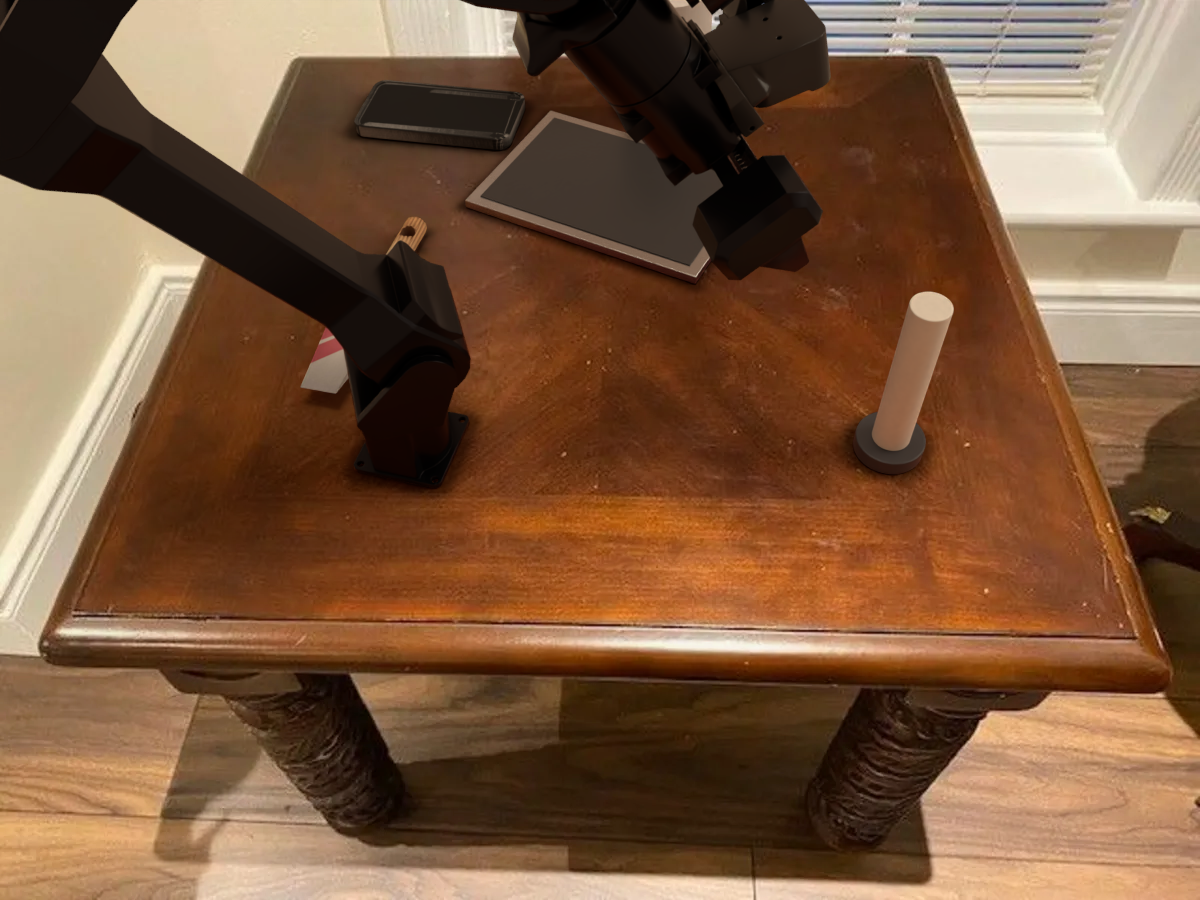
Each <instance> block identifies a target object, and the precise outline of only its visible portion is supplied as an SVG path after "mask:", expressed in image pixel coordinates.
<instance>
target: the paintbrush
mask: <svg viewBox="0 0 1200 900" xmlns="http://www.w3.org/2000/svg"><path fill="white" fill-rule="evenodd" d="M427 229H428V226H427V223H426V222H424V219H421V218H420V217H418V216H411V217H410V216H409V217H408V218H407V219H406V220H405V222H404V223H403V225H402V227H401V228H400V230H399V232H398V234H397V235H396V237H395V238H394V240H393V242H392V243H391V245H390V247H389V249H388V250H387V252H386V253H385V254H388V253H389V252H390V250H391V249H392V248H393V247H394V245H395V244H396V243H397V242H398V241H400V240H402V241H403V242H405V243H407V244H408V245H409V246H410V247H411V248H412V249H413V250H414V251H415V252H416V249H417V248H418V246H419V245H420V243H421V241H422V239H423V238H424V236H425V234H426V233H427ZM324 328H325V329H324V331H323V333H322V335H321V338H320V340H319V343H318V345H317V347H316V350H315V351H314V354H313V357H312V359H311V361H310V363H309V366H308V369H307V371H306V373H305V376H304V378H303V380H302V383H301V384H300V388H302V389H308V390H313V391H319V392H324V393H330V394H337V393H338V392H339V391H340V389H341V388H342V387H343V386H344V384H345V383H346V382H347V381H348V380H349V378H348V373H347V367H346V362H345V356H344V351H343V348H342V346H341V345H340V344H339V342H338V341H337V340H336V338H335V337H334V336H333V335H332V333H331V332H330V331H329V330H328V329H327V328H326V327H324Z"/></svg>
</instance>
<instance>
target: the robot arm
mask: <svg viewBox="0 0 1200 900" xmlns="http://www.w3.org/2000/svg"><path fill="white" fill-rule="evenodd" d="M138 1H139V0H0V176H1V177H4V178H6V179H9V180H11V181H13V182H16V183H18V184H21V185H24V186H26V187H28V188H30V189H34V190H35V191H43V192H56V193H57V192H59V193H70V194H79V195H80V194H81V195H92V196H93V195H94V196H97V197H99V198H100V197H101V198H103V199H104V200H107V201H109V202H111V203H113V204H115V205H116V206H118V207H120V208H122V209H124V210H125V211H127V212H129V213H130V214H132V215H134V216H135V217H137V218H139V219H141V220H142V221H144V222H145V223H147V224H149V225H151V226H152V227H154V228H156V229H158V230H159V231H161V232H163V233H165V234H167V236H170V237H171V238H173V239H174V240H177V241H179V242H180V243H181V244H184V245H185V246H187V247H189V248H190V249H192V250H194V251H195V252H197V253H199V254H200V255H203V256H204V257H206V258H208V259H209V260H211V261H213V262H214V263H216V264H218V265H220V266H221V267H223V268H225V269H227V270H228V271H229V272H232V273H234V274H235V275H236V276H239V277H240V278H242V279H244V280H245V281H247V282H249V283H250V284H252V285H254V286H256V287H258V288H259V289H261V290H263V291H264V292H266V293H268V294H269V295H271V296H273V297H275V298H276V299H278V300H279V301H281V302H283V303H285V304H287V305H288V306H289V307H291V308H293V309H295V310H297V311H299V312H300V313H302V314H304V315H306V316H307V317H309V318H311V319H313V320H314V321H315V322H318V323H319V324H321V325H322V326H324V328H327V329H328V330H329V331H330V332H331V333H332V335H333V336H334V337H335V338H336V340H337V341H338V342H339V344H340V345H341V346H342V348H343V351H344V356H345V362H346V367H347V373H348V383H349V389H350V392H351V393H350V394H351V401H352V405H353V410H354V411H353V412H354V417H355V421H356V426H357V428H358V429H359V430H360V431H361V433H362V437H363V439H364V443H363V444H362V447H361V448H360V450H359V453H357V456H356V458H355V460H354V462H353V468H354V471H355V472H356V473H359V474H362V475H366V476H367V475H368V476H372V477H377V478H382V479H386V480H392V481H395V482H396V481H397V482H401V483H406V484H411V485H415V486H420V487H425V488H430V489H439V488H440V487H442V485H444V482H445V480H446V478H447V475H448V473H449V470H450V469H451V467H452V464H453V461H454V459H455V457H456V455H457V453H458V450H459V448H460V446H461V444H462V441H463V439H464V437H465V435H466V433H467V431H468V428H469V426H470V418H469V416H468V415H467V414H464V413H458V412H454V411H449V409H450V404H451V402H452V399H453V396H454V392H455V389H456V388H458V387H459V386H460V385H461V384H462V383H463V381H465V379H466V377H467V376H468V374H469V372H470V369H471V360H472V359H471V354H470V351H469V347H468V344H467V340H466V338H465V334H464V330H463V326H462V323H461V320H460V316H459V312H458V310H457V309H458V308H457V306H456V302H455V298H454V295H453V292H452V289H451V287H450V283H449V280H448V277H447V274H446V271H445V267H444V265H441V264H438V263H433V262H431V261H428V260H426V259H425V258H423V257H422V256H420V255H419V254H418V253H417V252H416V250H415V251H414V250H413V249H412V248H411V247H410V246H409V245H408V244H407V243H405V242H403V241H402V240H400V241H398V242H397V243H396V244H395V245H394V247H393V248H392V249H391V250H390V252H389V253H388V254H386V253H364V252H362V251H359V250H357V249H355V248H353V247H352V246H350V245H348V244H347V243H346V242H344V241H343V240H342V239H340V238H339V237H337V236H335V235H334V234H333V233H331V232H330V231H328V230H326V229H325V228H323V227H322V226H320V225H319V224H317V223H316V222H314V221H313V220H311V219H310V218H308V217H307V216H305V215H304V214H302V213H301V212H299V211H298V210H296V209H295V208H293V207H292V206H290V205H288V204H287V203H286V202H284V201H283V200H282V199H280V198H278V197H277V196H275V194H272V193H271V192H269V191H268V190H266V189H265V188H263V187H262V186H260V185H259V184H258V183H256V182H254V181H253V180H252V179H250V178H249V177H247V176H246V175H244V174H242V173H241V172H240V171H238V170H236V169H235V168H234V167H232V166H231V165H229V164H228V163H226V162H224V161H223V160H221V159H220V158H219V157H217V156H215V155H214V154H213V153H211V152H209V151H208V150H207V149H205V148H203V147H202V146H201V145H199V144H198V143H196V142H195V141H193V140H192V139H190V138H189V137H187V136H185V135H184V134H183V133H181V132H180V131H178V130H176V129H175V128H174V127H172V126H171V125H169V124H167V123H166V122H165V121H163V120H161V119H160V118H158V117H157V116H156V115H154V114H153V113H151V112H150V111H149V110H148V109H147V108H146V107H145V106H144V105H143V104H142V103H141V102H140V100H139V99H138V98H137V97H136V95H135V94H134V92H133V91H132V90H131V88H130V87H129V86H128V85H127V83H126V82H125V81H124V80H123V79H122V77H121V76H120V74H119V73H118V72H117V70H115V68H114V67H113V66H112V64H111V63H110V61H109V60H108V58H106V57H105V55H104V52H105V50H106V48H107V47H108V45H109V43H110V41H111V40H112V38H113V36H114V34H115V33H116V31H117V29H118V28H119V26H120V25H121V23H122V21H123V19H124V18H125V17H126V16H127V15H128V13H129V12H130V11H131V10H132V8H133V7H134V6H135V4H136V3H137V2H138ZM459 1H461V2H463V3H466V4H467V5H468V4H469V5H471V6H474V7H477V8H483V9H491V10H498V11H505V12H514V13H516V21H515V24H514V28H513V33H512V41H513V44H514V46H515V48H516V51H517V53H518V55H519V57H520V60H521V62H522V64H523V67H524V69H525V71H526V73H527V75H528V76H530V77H533V78H534V77H538V76H540V75H541V74H543V72H544V71H545V70H546V69H548V68H549V67H550V66H551V65H552V64H554V63H555V62H556V61H557V60H558V59H560V57H561V56H563V55H565V56H566V57H567V58H568V59H569V61H570V62H571V63H572V64H573V65H574V66H575V67H576V69H578V70H579V72H580V73H581V74H582V75H583V77H585V78H586V80H587V81H588V82H589V83H590V84H591V85H592V86H593V88H594V89H595V90H596V91H597V92H598V93H599V94H600V96H601V97H602V98H603V99H604V100H605V101H606V102H607V104H608V105H609V106H610V107H611V108H612V109H613V110H614V111H615V113H616V115H617V117H618V119H619V121H620V123H621V125H622V127H623V129H624V132H626V133H627V134H628V135H629V136H630V137H631V138H632V139H633V140H634V141H635V143H636V144H637V143H638V142H639V141H640V140H642V141H643V142H644V143H645V145H646V146H647V147H648V148H649V149H650V150H651V151H652V152H653V154H654V155H655V157H656V159H657V161H658V163H659V164H660V166H661V168H662V170H663V172H664V174H665V176H666V177H667V178H668V179H669V180H670V181H671V183H672V184H673V185H674V186H676V185H677V184H679V183H680V182H681V181H682V180H684V179H685V178H686V177H688V176H689V175H690V174H691V173H694V174H695V175H698V174H701V173H704V172H706V171H708V170H710V169H712V170H714V171H715V173H716V175H717V176H718V178H719V180H720V181H721V183H722V185H723V187H721V188H720V189H719V190H717V191H716V192H715V193H713V194H712V195H711V196H709V197H708V198H707V199H706V200H704V201H703V202H702V203H700V204H699V205H698V206H697V209H696V213H695V216H694V220H693V224H692V225H693V227H694V229H695V231H696V233H697V235H698V236H699V238H700V240H701V242H702V244H703V246H704V248H705V249H706V251H707V253H708V255H709V257H710V259H711V262H712V264H713V265H714V266H715V267H716V268H717V269H718V270H719V271H720V273H722V274H723V275H724V277H725V278H726V279H727V280H728V281H742V280H744V279H745V278H746V277H748V276H749V275H750V274H752V273H753V272H754V271H756V270H757V269H759V268H766V269H773V270H778V271H779V270H780V271H783V272H784V271H785V272H791V273H797V272H798V271H800V270H801V269H803V268H805V267H806V266H807V265H808V264H809V263H810V258H809V255H808V252H807V250H806V246H805V243H804V240H803V236H804V235H805V234H807V233H808V232H809V231H811V230H812V229H814V228H815V227H817V226H818V225H819V224H820V221H821V218H822V216H823V214H824V210H823V208H822V207H821V205H820V204H819V203H818V201H817V199H816V198H815V197H814V195H813V194H812V192H811V191H810V189H809V187H808V186H807V184H806V183H805V182H804V180H803V179H802V177H801V176H800V174H799V173H798V171H797V170H796V169H795V167H794V166H793V164H792V163H791V162H790V160H789V159H788V158H787V156H786V155H785V154H770V155H769V154H767V155H766V154H765V155H761V157H759V158H758V157H757V156H756V154H755V152H754V151H753V149H752V148H751V146H750V144H749V143H748V142H747V140H746V139H745V138H748V137H749V136H751V135H752V134H753V133H755V132H756V131H757V130H759V129H760V128H761V127H763V126H764V125H765V122H764V120H763V118H762V117H761V115H760V114H759V113H758V111H757V110H756V109H755V108H758V109H766V108H769V107H773V106H775V105H777V104H780V103H782V102H784V101H786V100H788V99H791V98H794V97H796V96H798V95H801V94H804V93H805V92H807V91H810V92H816V91H818V90H819V89H822V88H823V87H825V86H826V85H827V84H828V83H829V82H830V80H831V66H830V56H829V45H828V36H827V28H826V25H825V23H824V22H823V21H822V20H821V18H820V17H819V16H818V15H817V14H816V12H815V11H814V10H813V9H812V7H811V6H810V5H809V4H808V2H807V1H806V0H701V1H702V2H703V3H704V5H705V6H706V8H707V9H708V11H709V12H710V13H711V15H712V16H713V15H715V14H716V13H717V12H718V11H719V10H720V11H721V12H722V13H720V14H718V21H719V23H718V24H717V25H716V27H715V28H714V29H711V31H710V32H708V33H706V34H704V33H703V32H702V30H701V29H700V28H699V26H698V25H697V23H694V22H693V20H692V19H691V20H689V21H688V22H686V20H685V19H684V18H683V16H682V17H681V16H680V15H679V13H678V12H677V10H676V9H675V8H674V6H673V5H672V4H671V2H670V1H669V0H459ZM686 1H687V3H688V4H689V5H690V7H691V8H693V7H694V6H696V5H697V4H698V3H699V2H700V1H699V0H686ZM361 465H362V466H361Z"/></svg>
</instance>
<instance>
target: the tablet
mask: <svg viewBox="0 0 1200 900" xmlns="http://www.w3.org/2000/svg"><path fill="white" fill-rule="evenodd" d="M721 187H723V185H722V183H721V181H720V180H719V178H718V176H717V175H716V173H715V171H714V170H712V169H710V170H708V171H706V172H704V173H701V174H698V175H695V174H694V173H691V174H690V175H689V176H688V177H686V178H685V179H684V180H682V181H681V182H680V183H679V184H677V185H676V186H674V185H673V184H672V183H671V181H670V180H669V179H668V178H667V177H666V176H665V174H664V172H663V170H662V168H661V166H660V164H659V163H658V161H657V159H656V157H655V155H654V154H653V152H652V151H651V150H650V149H649V148H648V147H647V146H646V145H645V143H644V142H643V141H642V140H640V141H639V142H638V143H637V144H636V143H635V141H634V140H633V139H632V138H631V137H630V136H629V135H628V134H627V133H626V131H621V130H618V129H615V128H612V127H608V126H605V125H602V124H598V123H595V122H592V121H588V120H584V119H581V118H577V117H574V116H570V115H567V114H564V113H560V112H557V111H554V110H549V112H547V114H545V115H544V117H543V118H542V119H541V120H540V121H539V122H537V124H536V125H535V126H534V127H533V128H532V129H531V130H530V131H529V132H528V134H527V135H526V136H524V137H523V139H522V140H521V141H519V143H518V144H517V145H516V146H515V147H514V148H513V149H512V150H511V151H510V152H509V153H508V155H506V156H505V158H503V160H502V161H501V162H500V163H499V164H498V165H497V166H496V167H495V168H494V169H493V170H492V171H491V172H490V173H489V175H487V176H486V178H485V179H484V180H483V181H481V183H480V184H479V185H478V186H476V188H475V189H474V190H473V191H472V192H471V193H470V195H468V196H467V198H465V200H464V204H465V207H466V208H467V209H470V210H473V211H476V212H480V213H482V214H485V215H488V216H491V217H494V218H497V219H500V220H503V221H506V222H509V223H512V224H515V225H517V226H520V227H524V228H527V229H530V230H533V231H535V232H539V233H541V234H545V235H547V236H551V237H553V238H556V239H560V240H563V241H566V242H569V243H571V244H574V245H577V246H581V247H584V248H586V249H589V250H593V251H596V252H599V253H600V254H601V253H602V254H604V255H608V256H610V257H614V258H616V259H620V260H623V261H625V262H628V263H631V264H634V265H638V266H640V267H643V268H646V269H649V270H653V271H655V272H657V273H661V274H663V275H667V276H669V277H673V278H675V279H679V280H682V281H684V282H688V283H691V284H694V285H696V284H697V282H698V281H699V280H700V278H701V277H702V275H703V273H704V272H705V271H706V270H707V268H708V266H709V265H710V263H711V262H712V261H711V259H710V257H709V255H708V253H707V251H706V249H705V248H704V246H703V244H702V242H701V240H700V238H699V236H698V235H697V233H696V231H695V229H694V227H693V225H692V224H693V220H694V216H695V213H696V209H697V206H698V205H699V204H700V203H702V202H703V201H704V200H706V199H707V198H708V197H709V196H711V195H712V194H713V193H715V192H716V191H717V190H719V189H720V188H721Z"/></svg>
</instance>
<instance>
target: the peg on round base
mask: <svg viewBox="0 0 1200 900" xmlns="http://www.w3.org/2000/svg"><path fill="white" fill-rule="evenodd" d="M954 310H955V309H954V304H953V303H952V301H951V300H950V299H949V298H948V297H946V296H945V295H943V294H941V293H938V292H934V291H922V292H921V291H920V292H918V293H916V294H914V295H913V296H912V297H911V298H910V300H909V303H908V306H907V309H906V313H905V316H904V320H903V322H902V323H903V324H902V327H901V330H900V334H899V337H898V340H897V344H896V347H895V352H894V355H893V358H892V361H891V364H890V369H889V372H888V375H887V379H886V381H885V386H884V389H883V393H882V396H881V399H880V403H879V405H878V406H879V407H878V410H877V411H875V412H871V413H869V414H867V415H866V416H864V417H863V418H862V419H861V420H860V421H859V422H858V423H857V426H856V428H855V432H854V435H853V439H852V447H853V450H854V453H855V456H856V457H857V458H858V460H859V461H860V462H861V463H862V464H863V465H865V466H866V467H867V468H869V469H871V470H872V471H874V472H878V473H881V474H886V475H900V474H904V473H907V472H909V471H911V470H913V469H914V468H916V467H917V466H918V465H919V464H920V462H921V460H922V458H923V455H924V452H925V450H926V445H927V439H926V438H927V437H926V435H925V432H924V430H923V429H922V427H921V426H920V425H919V423H917V422H918V418H919V415H920V412H921V410H922V406H923V403H924V400H925V397H926V394H927V391H928V390H929V389H928V388H929V386H930V383H931V379H932V377H933V375H934V371H935V368H936V366H937V362H938V359H939V356H940V353H941V350H942V347H943V344H944V341H945V338H946V336H947V332H948V330H949V326H950V323H951V321H952V317H953V315H954Z"/></svg>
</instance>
